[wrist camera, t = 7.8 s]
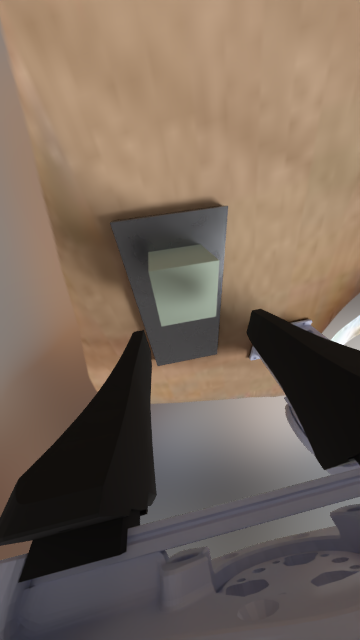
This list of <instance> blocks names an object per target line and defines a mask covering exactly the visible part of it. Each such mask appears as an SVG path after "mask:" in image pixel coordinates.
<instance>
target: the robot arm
mask: <svg viewBox="0 0 360 640" xmlns="http://www.w3.org/2000/svg"><path fill="white" fill-rule="evenodd" d="M311 323H312V320H310V319H308V320H303V321H298V322H293V323H289V322H287V321H285V320H283V319H281V318H279V317H277V316H275V315H273V314H271V313H269V312H267V311H264V310H262V309H258V310H252V312H251V316H250V321H249V325H248V329H247V335H248V337H249V339H250V341H251V343H252V344H253V346H252V350H251V353H250V357H249V359H250V360H256V359H261V360H262V362H263V363H264V364H265V366H266V367H267V369H268V370H269V371H270V373H271V374H272V376H273V377H274V378H275V380H276V381H277V383H278V384H279V386H280V387H281V388H282V390H283V391H284V393H285V394H286V397H285V398H284V399H285V400H286V402H287V403H288V404H287V405H286V406H285V410H286V412H285V413H286V417H287V420H288V422H289V424H290V426H291V428H292V429H293V431H294V432H295V434H296V435H297V437H298V438H299V439H300V441H301V442H302V443H303V444H304V446H305V447H306V448H307V449H308V450H309V451H310V452H311V453H312V454H314V456H315V457H316V458H317V460H318V462H319V463H320V465H321V466H322V468H323V469H324V470H326V471H327V472H328V473H329V474H331V475H330V476H327V477H323V478H319V479H315V480H311V481H307V482H304V483H300V484H296V485H292V486H288V487H285V488H281V489H277V490H273V491H269V492H266V493H262V494H258V495H254V496H250V497H247V498H243V499H239V500H236V501H231V502H228V503H224V504H220V505H216V506H212V507H208V508H204V509H201V510H197V511H193V512H189V513H185V514H182V515H178V516H174V517H170V518H166V519H163V520H159V521H155V522H152V523H147V524H144V525H140V516H142V515H145V514H147V512H148V509H147V508H148V506H151V505H152V503H153V501H154V499H155V497H156V495H157V494H156V484H155V472H154V460H153V447H152V430H151V411H150V396H151V373H152V362H151V351H150V348H149V345H148V342H147V339H146V336H145V333H144V330H142V331H136V332H134V333H133V334H132V336H131V338H130V340H129V342H128V344H127V346H126V348H125V350H124V352H123V354H122V356H121V358H120V359H119V361H118V363H117V364H116V366H115V368H114V369H113V371H112V372H111V374H110V376H109V377H108V379H107V380H106V382H105V383H104V384H103V386H102V387H101V389H100V390H99V391H98V393H97V394H96V395H95V397H94V398H93V399H92V400H91V402H90V403H89V404H88V406H87V407H86V408H85V409H84V410H83V412H82V413H81V414H80V415H79V416H78V417H77V419H76V420H75V421H74V422H73V423H72V424H71V425H70V427H69V428H68V429H67V430H66V431H65V432H64V433H63V434H62V435H61V436H60V438H59V439H58V440H57V441H56V442H55V443H54V444H53V445H52V446H51V447H50V448H49V449H48V450H47V451H46V452H45V453H44V454H43V455H42V456H41V457H40V458H39V459H38V460H37V461H36V462H35V463H34V464H33V465H32V466H31V467H30V468H29V469H28V470H27V471H26V472H25V473H24V474H23V475H22V476H21V477H20V478H19V479H18V481H17V483H16V485H15V487H14V490H13V491H12V493H11V496H10V498H9V500H8V502H7V505H6V507H5V509H4V511H3V513H2V515H1V517H0V546H1V545H7V544H13V543H19V542H25V541H30V540H33V541H32V544H31V547H30V550H29V553H27V554H23V555H19V556H15V557H11V558H8V559H4V560H0V640H360V504H356V505H349V506H345V507H341V508H339V509H337V510H335V511H332V512H330V516H331V518H332V520H333V521H334V523H335V525H336V526H333V527H329V528H324V529H319V530H315V531H310V532H305V533H301V534H296V535H291V536H287V537H283V538H278V539H274V540H270V541H266V542H262V543H259V544H256V545H252V546H249V547H246V548H243V549H240V550H237V551H234V552H231V553H229V554H226V555H223V556H221V557H218V558H215V559H212V560H211V557H210V551H209V548H208V547H207V546H206V547H200V548H193V549H188V550H184V551H181V552H178V553H176V554H174V555H173V556H171V557H170V558H169V557H168V555H167V553H166V551H165V550H167V549H171V548H175V547H178V546H182V545H186V544H189V543H193V542H196V541H200V540H204V539H207V538H211V537H215V536H218V535H222V534H225V533H229V532H233V531H236V530H240V529H243V528H247V527H251V526H254V525H258V524H262V523H265V522H269V521H273V520H276V519H280V518H284V517H287V516H291V515H295V514H298V513H302V512H305V511H309V510H312V509H316V508H320V507H324V506H327V505H331V504H334V503H338V502H342V501H345V500H349V499H353V498H356V497H360V351H359V350H356V349H353V348H350V347H347V346H344V345H341V344H339V343H336V342H333V341H331V340H329V339H328V338H326V337H325V336H324V335H323V334H321V333H320V332H319V331H317V330H316V329H315V328H313V327H312V326H311Z"/></svg>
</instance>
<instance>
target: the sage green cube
mask: <svg viewBox="0 0 360 640" xmlns="http://www.w3.org/2000/svg"><path fill="white" fill-rule="evenodd" d="M148 272H149V276H150V280H151V284H152V289H153V293H154V297H155V301H156V306H157V310H158V314H159V318H160V322H161V327H162V326H167V325H172V324H178V323H183V322H189V321H194V320H200V319H205V318H210V317H216V310H217V293H218V276H219V260H218V259H217V258H216V257H215V256H214V255H213V254H211V253H210V252H209V251H208V250H207V249H206V248H204V247H203V246H202V245H201V244H199V245H192V246H185V247H179V248H172V249H166V250H159V251H153V252H148Z"/></svg>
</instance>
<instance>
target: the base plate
mask: <svg viewBox="0 0 360 640" xmlns="http://www.w3.org/2000/svg"><path fill="white" fill-rule="evenodd" d="M227 214H228V206H216V207H209V208H202V209H195V210H188V211H181V212H174V213H167V214H160V215H153V216H145V217H138V218H131V219H124V220H117V221H112V222H110V224H111V227H112V230H113V233H114V236H115V239H116V242H117V245H118V248H119V251H120V254H121V257H122V260H123V263H124V266H125V269H126V272H127V275H128V278H129V281H130V284H131V287H132V290H133V293H134V296H135V299H136V302H137V305H138V308H139V311H140V314H141V317H142V320H143V323H144V326H145V329H146V332H147V335H148V338H149V341H150V344H151V347H152V350H153V353H154V356H155V359H156V362H157V365H158V366H161V365H166V364H171V363H175V362H180V361H185V360H190V359H195V358H200V357H205V356H210V355H215V354H217V347H218V334H219V320H220V307H221V294H222V280H223V267H224V254H225V240H226V227H227ZM199 244H201V245H202V246H203V247H204V248H206V249H207V250H208V251H209V252H210V253H211V254H213V255H214V256H215V257H216V258H217V259H218V260H219V276H218V293H217V310H216V317H210V318H205V319H200V320H194V321H189V322H183V323H178V324H172V325H167V326H162V327H161V322H160V318H159V314H158V310H157V306H156V301H155V297H154V293H153V289H152V284H151V280H150V276H149V272H148V252H153V251H159V250H166V249H172V248H179V247H185V246H192V245H199Z"/></svg>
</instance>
